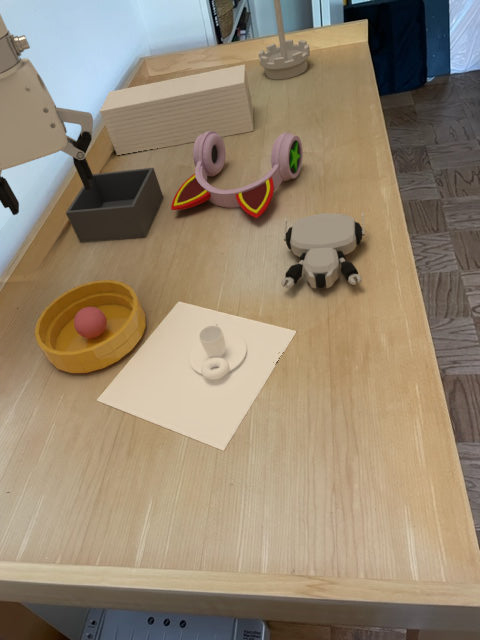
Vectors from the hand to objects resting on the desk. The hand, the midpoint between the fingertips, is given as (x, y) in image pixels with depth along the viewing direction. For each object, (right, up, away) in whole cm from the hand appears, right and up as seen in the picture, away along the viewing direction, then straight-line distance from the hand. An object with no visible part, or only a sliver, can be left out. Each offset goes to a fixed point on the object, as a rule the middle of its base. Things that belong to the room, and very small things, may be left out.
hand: (52, 197), depth 69 cm
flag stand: (+37, +49, +71) cm, 94 cm away
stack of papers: (+12, +28, +56) cm, 63 cm away
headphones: (+24, +8, +32) cm, 41 cm away
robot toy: (+37, -7, +12) cm, 40 cm away
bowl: (+3, -18, +11) cm, 21 cm away
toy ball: (+3, -16, +9) cm, 19 cm away
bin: (+2, +3, +33) cm, 34 cm away
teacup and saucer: (+19, -22, +2) cm, 29 cm away
